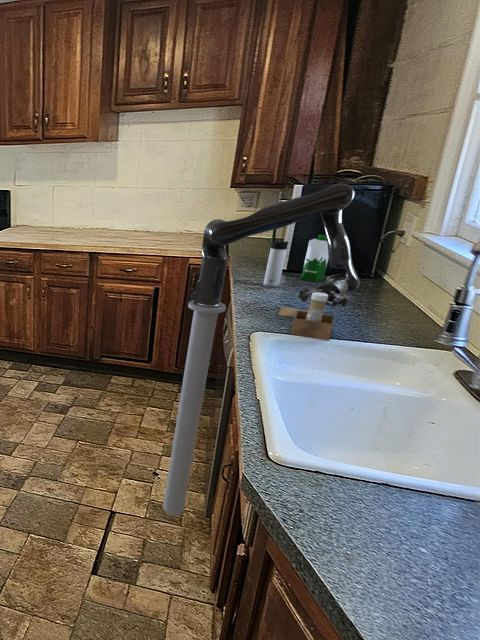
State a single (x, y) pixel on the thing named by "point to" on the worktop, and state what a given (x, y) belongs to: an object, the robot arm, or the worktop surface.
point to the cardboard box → (312, 326)
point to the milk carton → (316, 259)
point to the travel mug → (275, 264)
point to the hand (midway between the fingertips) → (318, 301)
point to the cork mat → (288, 311)
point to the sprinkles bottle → (317, 306)
